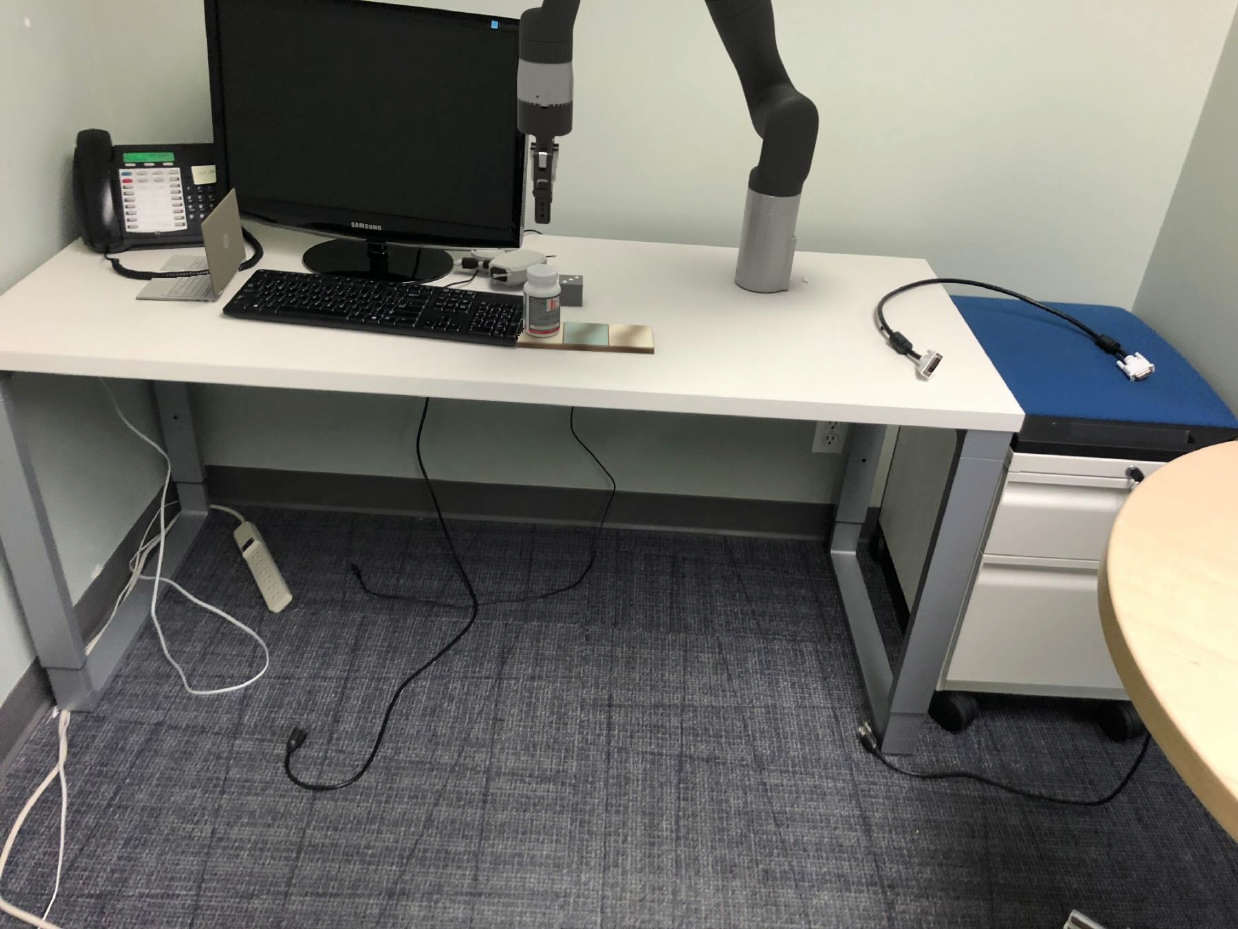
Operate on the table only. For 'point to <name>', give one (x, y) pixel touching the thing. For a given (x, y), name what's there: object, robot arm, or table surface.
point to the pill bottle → (541, 301)
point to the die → (571, 290)
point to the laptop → (205, 260)
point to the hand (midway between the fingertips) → (543, 212)
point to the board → (594, 338)
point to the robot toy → (503, 264)
